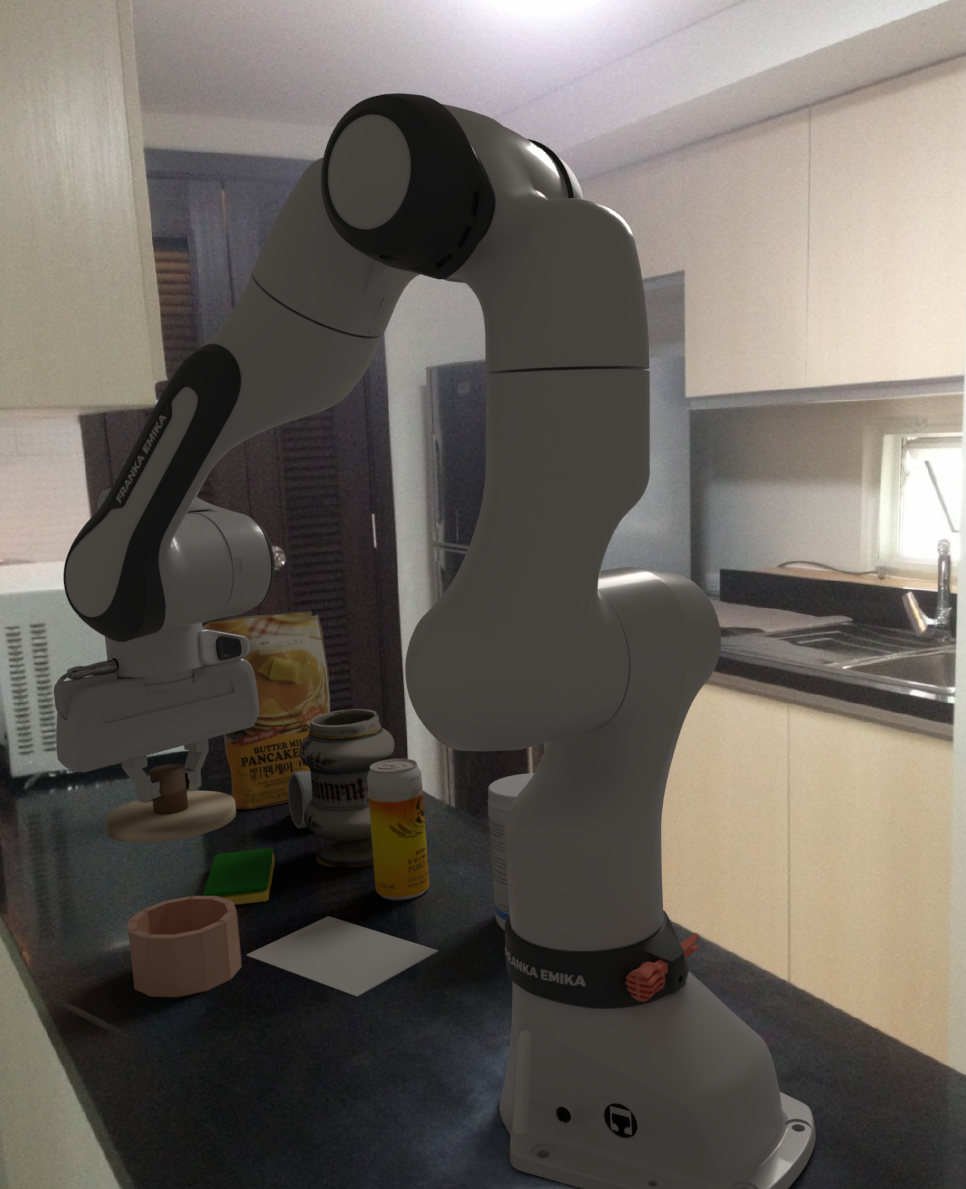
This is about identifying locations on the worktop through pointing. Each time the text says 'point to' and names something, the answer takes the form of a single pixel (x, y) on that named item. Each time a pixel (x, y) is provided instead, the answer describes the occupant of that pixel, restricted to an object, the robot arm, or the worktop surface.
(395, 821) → the beer can
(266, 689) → the pancake mix bag
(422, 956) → the mat
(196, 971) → the bowl
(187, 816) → the lid
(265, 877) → the dish sponge
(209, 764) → the worktop surface
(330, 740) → the apothecary jar
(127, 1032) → the worktop surface
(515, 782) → the supplement tub
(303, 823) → the ceramic mug
